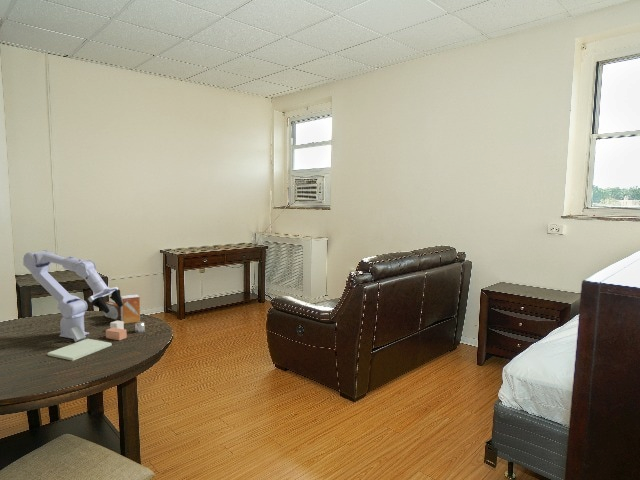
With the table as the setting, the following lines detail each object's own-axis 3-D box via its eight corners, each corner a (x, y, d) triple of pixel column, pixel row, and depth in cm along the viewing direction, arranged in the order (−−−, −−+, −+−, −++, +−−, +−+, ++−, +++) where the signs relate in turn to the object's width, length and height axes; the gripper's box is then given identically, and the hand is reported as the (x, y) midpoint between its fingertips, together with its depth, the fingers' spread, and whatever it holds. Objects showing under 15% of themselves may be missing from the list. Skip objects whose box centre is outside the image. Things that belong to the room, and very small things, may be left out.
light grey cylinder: (133, 332, 193) (133, 323, 193) (140, 329, 197) (139, 321, 196) (140, 333, 192) (140, 324, 191) (146, 330, 195) (146, 322, 195)
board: (47, 355, 164) (47, 352, 164) (87, 340, 180) (87, 338, 180) (73, 360, 159) (73, 358, 159) (111, 345, 176) (111, 343, 175)
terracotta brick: (105, 338, 185) (105, 330, 184) (113, 335, 188) (112, 327, 188) (119, 340, 182) (119, 332, 181) (126, 337, 186) (126, 329, 185)
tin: (123, 320, 211) (123, 304, 210) (118, 321, 208) (117, 305, 207) (107, 315, 219) (106, 299, 218) (101, 316, 216) (100, 301, 215)
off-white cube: (110, 331, 194) (110, 322, 194) (117, 328, 198) (117, 320, 197) (117, 332, 193) (116, 323, 192) (123, 329, 196) (123, 321, 196)
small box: (123, 324, 204) (122, 298, 203) (120, 321, 209) (120, 295, 208) (140, 321, 209) (139, 296, 207) (138, 318, 214) (137, 293, 213)
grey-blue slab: (68, 330, 180) (71, 328, 179) (77, 327, 183) (79, 325, 183) (75, 342, 179) (77, 339, 178) (83, 339, 182) (86, 336, 182)
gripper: (87, 284, 174) (106, 310, 173) (114, 275, 187) (132, 299, 187) (79, 293, 176) (97, 318, 176) (106, 283, 190) (123, 307, 189)
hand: (114, 309), depth 181 cm, fingers open, 7 cm apart
